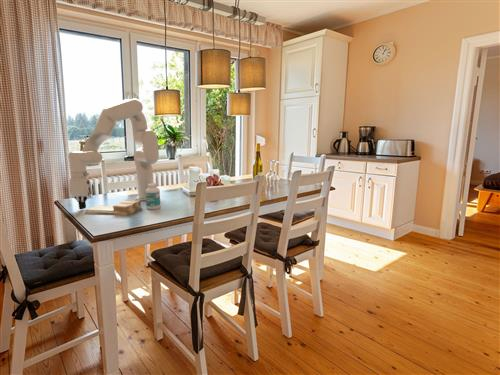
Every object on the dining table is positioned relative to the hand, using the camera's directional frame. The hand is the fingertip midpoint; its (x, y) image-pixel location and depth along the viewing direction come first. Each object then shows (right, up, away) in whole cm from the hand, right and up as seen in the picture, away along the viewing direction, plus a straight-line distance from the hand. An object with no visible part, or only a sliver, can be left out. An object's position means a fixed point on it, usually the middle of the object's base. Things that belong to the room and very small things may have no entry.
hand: (82, 208), depth 165 cm
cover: (+12, -2, -1) cm, 12 cm away
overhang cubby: (+17, -1, -2) cm, 18 cm away
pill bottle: (+37, 0, +4) cm, 37 cm away
